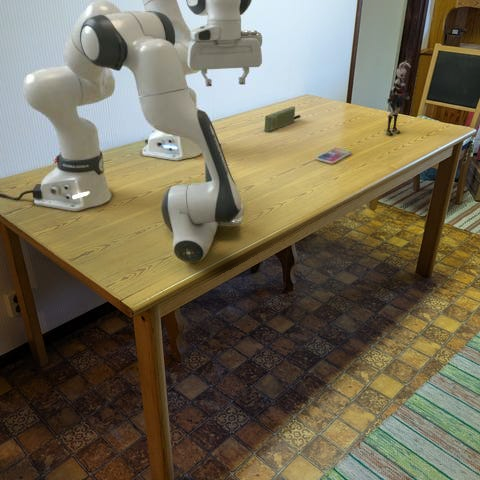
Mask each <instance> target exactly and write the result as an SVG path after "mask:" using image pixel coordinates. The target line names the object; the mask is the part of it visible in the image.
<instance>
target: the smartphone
mask: <svg viewBox="0 0 480 480" xmlns="http://www.w3.org/2000/svg"><path fill="white" fill-rule="evenodd" d="M351 154H352V152H351V151H350V150H346V149H343V148H340V147H334V148H332V149H330V150H328V151H326V152H324V153H322V154H320V155H318V156H316V158H315V159H316V160H317V161H320V162H323V163H325V164H330V165H332V164H336V163H338V162H339V161H341V160H343V159H344V158H346V157H348V156H350V155H351Z"/></svg>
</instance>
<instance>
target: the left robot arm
mask: <svg viewBox="0 0 480 480" xmlns="http://www.w3.org/2000/svg"><path fill="white" fill-rule="evenodd" d="M174 45H175V31H174V27H173V25H172V23H171V21H170V19H169V18H168V17H167V16H166V15H164V14H162V13H160V12H156V11H146V10H145V11H142V10H125V11H121V10H120V8H119V7H117V5H116V4H114V3H112V2H110V1H107V0H94V1H92V2H91V3H89V4H88V5H87V6H86V7H85V8H84V10H83V11H82V12H81V14H80V15H79V16H78V18H77V19H76V21H75V22H74V25H73V27H72V29H71V31H70V33H69V36H68V38H67V40H66V43H65V45H64V47H63V58H64V62H65V64H64V65H59V66H51V67H45V68H40V69H38V70H35V71H33V72H30V73H28V74H27V75H26V76H25V77H24V78H23V79H24V80H23V83H22V93H23V97H24V99H25V101H26V102H27V104H28V105H29V106H30V107H31V108H32V109H33V110H34V111H37V112H39V113H41V114H42V115H43V116H44V117H46V119H48V120H49V122H50V123H51V125H52V126H53V129H54V130H55V132H56V136H57V141H58V145H59V151H60V152H59V154H58V155H56V156H55V158H53V164H57V166H56V167H54V168H53V169H52V170H51V171H50V172H49V173H48V174H46V175H45V176H44V177H43V179H42V181H41V183H36V184H35V185H34V187H33V189H30V190H26V191H23V192H20V194H19V196H17V197H12V196H10V195H7V194H4V193H1V192H0V197H4V198H6V199H9V200H12V201H19V200H21V199H22V198H23V196H24V195H27V194H32V198H33V199H34V200H33V201H34V205H36V206H42V207H46V208H47V207H48V208H54V209H59V210H65V211H70V212H71V211H72V212H80V211H83V210H85V209H89V208H94V207H98V206H101V205H103V204H105V203H107V202H109V201H110V200H111V198H112V192H111V190H110V188H109V185H108V183H107V179H106V174H105V162H104V156H103V152H102V151H101V146H100V138H99V130H98V128H97V126H96V125H95V123H94V122H92V121H91V120H89V119H86V118H84V117H82V116H80V115H79V112H78V107H83V106H87V105H92V104H96V103H100V102H101V101H104V100H106V99H109V98H110V97H112V96H113V94H114V92H115V88H116V79H115V75H114V73H113V71H112V70H114V71H118V72H120V71H121V69H122V68H123V67H125V68H127V69H129V70H130V71H131V72H132V74H133V77H134V81H135V85H136V92H137V96H138V100H139V105H140V109H141V112H142V115H143V117H144V120H145V121H146V122H147V123H148V124H149V126H151V127H152V128H153V129H154V130H156V129H157V130H158V131H161V132H163V133H166V134H170V135H174V136H178V137H182V138H186V139H188V140H191V141H192V142H194V143H195V144H197V145H198V147H199V148H200V149H201V151H202V153H201V155H202V156H203V159H204V163H205V162H206V164H207V167H208V170H209V173H210V175H211V178H212V181H210V182H205V181H204V182H203V181H202V182H196V183H186V184H178V185H172V186H169V188H168V189H167V190H166V192H165V193H164V195H163V198H162V200H161V215H162V219H163V222H164V224H165V226H166V227H167V228H168V230H169V231H170V232H171V233H172V235H173V240H172V250H173V253H174V255H175V257H176V258H177V259H178V260H180V261H182V262H185V263H190V264H191V263H197V262H200V261H202V260H203V259H204V258H205V257H206V256H207V254H208V253H209V251H210V249H211V246H212V244H213V241H214V237H215V235H216V233H217V230H218V227H219V226H223V227H225V226H227V227H236V226H238V225H240V224H242V222H243V221H244V219H243V218H244V211H245V206H244V205H243V204H242V198H241V193H240V190H239V189H238V187H237V184H236V182H235V180H234V178H233V176H232V173H231V171H230V168H229V165H228V163H227V160H226V157H225V154H224V151H223V149H222V145H221V146H220V144H221V143H220V140H219V138H218V135H217V133H216V131H215V127H214V125H213V123H212V121H211V119H210V117H209V116H208V115H209V114H207V112H206V111H204V110H202V109H199V108H198V106H197V107H196V106H195V104H194V103H193V101H192V99H191V97H190V95H189V91H188V87H189V85H188V83H187V78H186V76H185V74H184V70H183V67H182V64H181V61H180V58H179V55H178V53H177V50H176V48H175V47H174ZM187 85H188V86H187ZM185 88H187V89H185Z"/></svg>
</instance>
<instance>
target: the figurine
mask: <svg viewBox="0 0 480 480" xmlns="http://www.w3.org/2000/svg"><path fill="white" fill-rule="evenodd" d="M407 66H408V68H412V66H411V65H410V63H408V60H405V61H402V62H401V63H399V65H398V68H397V69H396V72H395V74H396V77H397V78H396V79H395V81H394V82H393V85H392V87H391V89H390V91H389V94H388V95H389V96H388V98H387V100H386V103H387V105H388V106H390V112H389V114H388V115H387V118H388V119H387V127H386V130H385V132H386V133H385V134H386V135H387V136H392V137H393V135H394V133H396V134H400V129H398V128H397V121H398V117H399V116H400V115H399V112H400V110H401V108H402V111H401V114H404V110H405V109H406V106H405V105H406V104H405V101H406V100H409V99H410V95H409V93H408V90H407V88H406V87H407V85H406V83H405V81H404V79H405V78H406V74H407V71H408V70H407V69H406V67H407ZM394 90H395V92H394ZM403 92H404V93H405V97H404V94H403ZM392 120H393V127H392V129H391V124H392Z"/></svg>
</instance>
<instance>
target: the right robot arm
mask: <svg viewBox="0 0 480 480" xmlns="http://www.w3.org/2000/svg"><path fill="white" fill-rule="evenodd" d="M185 1H186V6H187V7H188V9H189V10H190V11H191V12H192V13H193V14H194V15H196V16H200V17H202V16H203V17H204V16H207V18H206V23H207V24H203V25H201V26H199V27H196V28H193V29H190V28H189V26H188V25H187V23H186V21H185V19H184V17H183V14H182V12H181V8H180V6H179V3H178V0H142V3H143V6H144V10H145V11H156V12H160V13H162V14H164V15H166V16H167V17H168V18H169V19H170V21H171V23H172V25H173V27H174V31H175V45H174V47H175V48H176V50H177V53H178V55H179V58H180V61H181V64H182V67H183V70H184V74H185V77H186V76H189V75H194V74H197V73H200V74H201V75H202V77H203V78H204V80H205V81H204V82H205V83H204V84H205V87H212V86H213V84H212V83H213V80H212V79H211V78H208V76H207V74H208V70H224V69H242V71H243V72H242V75H241V76H238V84H239V85H240V86H243V85H246V78H247V76H248V75H249V73H250V68H260V67H261V65H262V64H263V54H262V48H261V47H262V45H263V35H262V34H261V32H259V31H257V30H254V29H253V30H242V17H241V16H242V15H243V14H244V13H246V11H247V10H248V9H249V7H250V6H251V3H252V1H253V0H185ZM187 86H188V91H189V95H190V97H191V99H192V101H193V103H194V104H195V106H196V107H197V108H198V103H197V100H198V99H197V93H196V91H195V90H194V89H192V88H191V87H189V85H188V84H187ZM185 89H187V88H185ZM144 142H145V143H147V145H145V146H144V147H143V148H142V150H141V155H142V156H145V157H152V158H157V159H164V160H170V161H176V162H178V161H182V160H185V159H190V158H191V159H192V158H196V157H198V156H200V155H202V151H201V149H200V148H199V147H198V145H197V144H195V143H194V142H192V141H191V140H188V139H186V138H182V137H178V136H174V135H170V134H166V133H163V132H161V131H158V130H157V129H154V130H152V132H151V133H150V135H149V136H148V139H145V140H144Z"/></svg>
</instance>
